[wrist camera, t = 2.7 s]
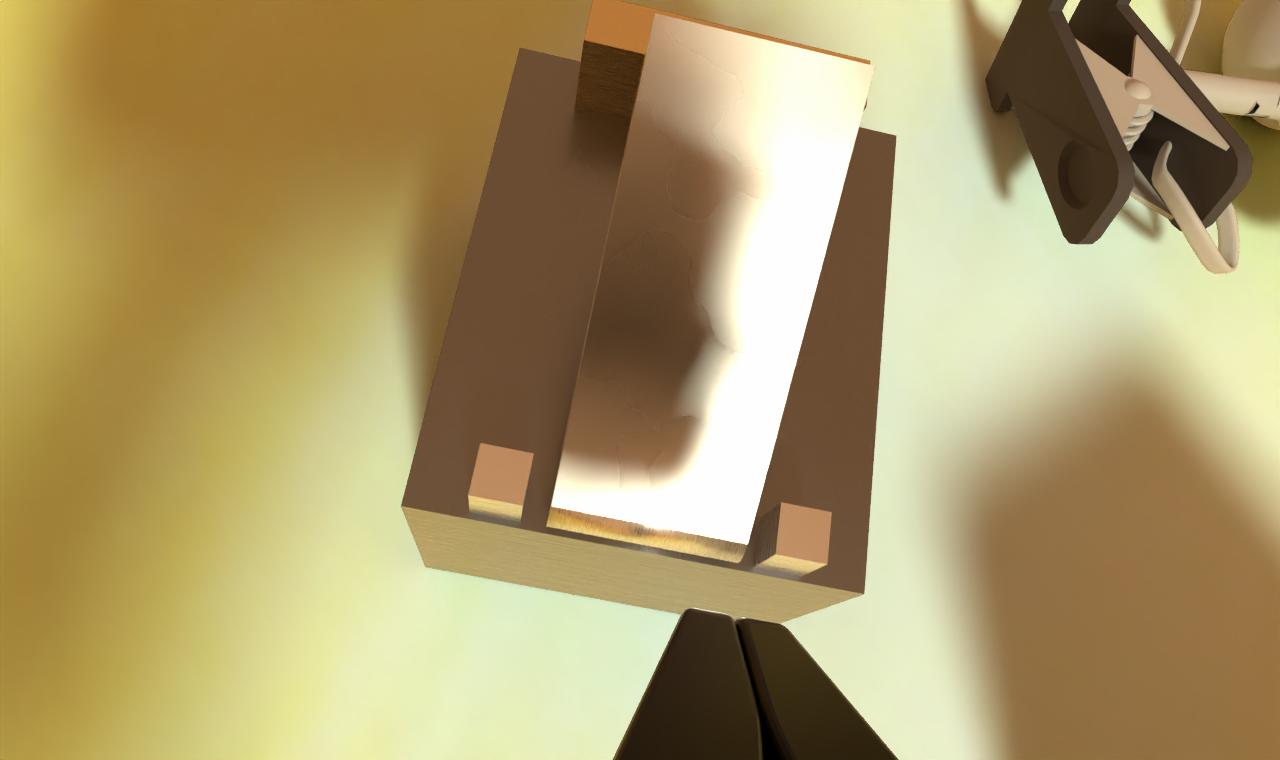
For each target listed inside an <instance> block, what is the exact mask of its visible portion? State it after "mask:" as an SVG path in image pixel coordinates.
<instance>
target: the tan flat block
mask: <svg viewBox="0 0 1280 760" xmlns="http://www.w3.org/2000/svg"><path fill="white" fill-rule="evenodd" d="M874 68H875V66H873V65H869V64H864V63H860V62H856V61H852V60H848V59H844V58H839V57H835V56H831V55H827V54H823V53H819V52H814V51H810V50H806V49H802V48H798V47H794V46H789V45H785V44H781V43H777V42H773V41H769V40H764V39H760V38H756V37H752V36H748V35H744V34H739V33H735V32H731V31H727V30H723V29H719V28H714V27H710V26H706V25H702V24H698V23H694V22H689V21H685V20H681V19H677V18H673V17H669V16H664V15H660V14H656V13H655V14H654V17H653V20H652V23H651V28H650V32H649V37H648V42H647V47H646V51H645V56H644V61H643V66H642V70H641V75H640V80H639V85H638V89H637V94H636V99H635V104H634V108H633V113H632V118H631V123H630V127H629V132H628V137H627V142H626V146H625V151H624V156H623V161H622V165H621V170H620V175H619V180H618V184H617V189H616V194H615V199H614V203H613V208H612V213H611V218H610V223H609V227H608V232H607V237H606V242H605V246H604V251H603V256H602V261H601V265H600V270H599V275H598V280H597V284H596V289H595V294H594V299H593V303H592V308H591V313H590V318H589V322H588V327H587V332H586V337H585V341H584V346H583V351H582V356H581V360H580V365H579V370H578V375H577V379H576V384H575V389H574V394H573V398H572V403H571V408H570V413H569V417H568V422H567V427H566V432H565V437H564V441H563V446H562V451H561V456H560V460H559V465H558V470H557V475H556V479H555V484H554V489H553V494H552V499H551V504H550V509H549V514H548V519H547V525H546V527H551V528H557V529H562V530H567V531H572V532H578V533H583V534H588V535H593V536H599V537H604V538H609V539H614V540H620V541H625V542H630V543H635V544H641V545H646V546H651V547H656V548H662V549H667V550H672V551H677V552H682V553H688V554H693V555H698V556H703V557H709V558H714V559H719V560H724V561H730V562H735V563H739V562H740V561H741V560H742V558H743V556H744V553H745V551H746V548H747V544H748V540H749V537H750V533H751V529H752V525H753V522H754V518H755V514H756V510H757V507H758V503H759V499H760V495H761V492H762V488H763V484H764V480H765V477H766V473H767V469H768V465H769V462H770V458H771V454H772V450H773V447H774V443H775V439H776V435H777V432H778V428H779V424H780V420H781V417H782V413H783V409H784V405H785V402H786V398H787V394H788V390H789V387H790V383H791V379H792V375H793V372H794V368H795V364H796V360H797V357H798V353H799V349H800V345H801V342H802V338H803V334H804V330H805V327H806V323H807V319H808V316H809V312H810V308H811V304H812V301H813V297H814V293H815V289H816V286H817V282H818V278H819V274H820V271H821V267H822V263H823V259H824V256H825V252H826V248H827V244H828V241H829V237H830V233H831V229H832V226H833V222H834V218H835V214H836V211H837V207H838V203H839V199H840V196H841V192H842V188H843V184H844V181H845V177H846V173H847V169H848V166H849V162H850V158H851V154H852V151H853V147H854V143H855V139H856V136H857V132H858V128H859V124H860V121H861V117H862V113H863V110H864V106H865V102H866V98H867V95H868V91H869V87H870V83H871V80H872V76H873V72H874Z"/></svg>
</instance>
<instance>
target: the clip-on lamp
mask: <svg viewBox="0 0 1280 760" xmlns="http://www.w3.org/2000/svg"><path fill="white" fill-rule="evenodd" d="M1130 1H1131V0H1080V2H1079V4H1078V6H1077V8H1076V10H1075V12H1074V14H1073V15H1072V17H1071V19H1070V21H1069V23H1067V21H1066V18H1065V16H1064V14H1063V12H1062V10H1063V8H1064V6H1065V4H1066V2H1067V0H1022V2H1021V5H1020V7H1019V9H1018V11H1017V13H1016V15H1015V17H1014V19H1013V22H1012V24H1011V26H1010V28H1009V30H1008V32H1007V34H1006V36H1005V39H1004V41H1003V43H1002V45H1001V47H1000V49H999V51H998V53H997V56H996V58H995V60H994V62H993V64H992V66H991V68H990V70H989V72H988V75H987V77H986V84H987V89H988V93H989V97H990V102H991V106H992V108H993V110H1010V109H1011V108H1012V107H1013V108H1014V110H1015V113H1016V115H1017V118H1018V121H1019V123H1020V126H1021V128H1022V131H1023V133H1024V136H1025V138H1026V141H1027V144H1028V146H1029V149H1030V151H1031V154H1032V156H1033V159H1034V162H1035V164H1036V167H1037V169H1038V172H1039V174H1040V177H1041V179H1042V182H1043V185H1044V187H1045V190H1046V192H1047V195H1048V197H1049V200H1050V202H1051V205H1052V208H1053V210H1054V213H1055V215H1056V218H1057V220H1058V223H1059V226H1060V228H1061V231H1062V233H1063V236H1064V237H1065V238H1066V240H1067V241H1068V242H1069V243H1071V244H1093V243H1094V242H1095V241H1097V240H1098V239H1099V238H1100V237H1101V236H1102V234H1103V233H1104V232H1105V230H1106V229H1107V227H1108V226H1109V225H1110V223H1111V222H1112V221H1113V219H1114V218H1115V216H1116V215H1117V214H1118V212H1119V211H1120V209H1121V208H1122V207H1123V205H1124V204H1125V202H1126V201H1127V200H1128V198H1129V196H1131V197H1133V198H1134V199H1136V200H1138V201H1139V202H1141V203H1143V204H1144V205H1146V206H1148V207H1149V208H1151V209H1153V210H1154V211H1156V212H1158V213H1159V214H1161V215H1163V216H1164V217H1166V218H1168V219H1169V221H1170V222H1171V224H1172V225H1174V226H1175V227H1176V228H1177V229H1178V230H1179V231H1182V232H1183V234H1184V235H1185V237H1186V239H1187V240H1188V242H1189V244H1190V246H1191V247H1192V249H1193V251H1194V252H1195V254H1196V255H1197V257H1198V258H1199V260H1200V261H1201V263H1202V264H1203V265H1204V267H1205V268H1206V269H1207V270H1208V271H1210V272H1212V273H1214V274H1224V273H1230V272H1232V271H1235V270H1236V268H1237V265H1238V259H1239V230H1238V222H1237V217H1236V213H1235V208H1234V206H1233V204H1232V201H1233V200H1234V198H1235V197H1236V196H1237V195H1238V194H1239V193H1240V191H1241V190H1242V189H1243V188H1244V187H1245V185H1246V183H1247V182H1248V180H1249V178H1250V176H1251V174H1252V161H1253V158H1252V156H1251V153H1250V151H1249V148H1248V146H1247V145H1246V144H1245V143H1244V141H1243V140H1242V139H1241V138H1240V137H1239V135H1238V134H1237V133H1236V132H1235V131H1234V129H1233V128H1232V127H1231V126H1230V125H1229V124H1228V122H1227V121H1226V120H1225V119H1224V118H1223V116H1222V115H1221V114H1220V113H1228V114H1235V115H1242V116H1249V117H1252V118H1253V119H1255V120H1256V121H1257V122H1259V123H1260V124H1262V125H1264V126H1266V127H1269V128H1272V129H1276V130H1279V131H1280V0H1243V1H1242V2H1241V3H1240V4H1239V6H1238V7H1237V9H1236V11H1235V13H1234V15H1233V17H1232V19H1231V21H1230V23H1229V25H1228V27H1227V29H1226V32H1225V35H1224V42H1223V52H1222V66H1221V67H1222V72H1223V75H1221V74H1214V73H1207V72H1199V71H1192V70H1185V69H1182V68H1181V67H1180V64H1181V61H1182V58H1183V56H1184V53H1185V51H1186V48H1187V45H1188V43H1189V40H1190V37H1191V35H1192V32H1193V29H1194V26H1195V24H1196V21H1197V18H1198V15H1199V11H1200V7H1201V2H1202V0H1185V5H1186V6H1185V10H1184V14H1183V18H1182V22H1181V25H1180V28H1179V30H1178V33H1177V36H1176V38H1175V41H1174V43H1173V46H1172V49H1171V51H1170V54H1169V52H1168V51H1167V50H1166V49H1165V48H1164V46H1163V45H1162V44H1161V43H1160V42H1159V40H1158V39H1157V38H1156V37H1155V36H1154V35H1153V33H1152V32H1151V31H1150V30H1149V29H1148V27H1147V26H1146V25H1145V24H1144V23H1143V22H1142V20H1141V19H1140V18H1139V17H1138V16H1137V14H1136V13H1135V12H1134V11H1133V10H1132V8H1131V7H1130V6H1129V3H1130ZM1219 112H1220V113H1219ZM1215 221H1216V225H1217V229H1218V243H1219V245H1218V249H1217V247H1216V246H1215V244H1214V242H1213V241H1212V239H1211V237H1210V236H1209V234H1208V232H1207V230H1206V228H1207V227H1209V226H1210V225H1212V224H1213V223H1214V222H1215Z"/></svg>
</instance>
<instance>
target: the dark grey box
mask: <svg viewBox="0 0 1280 760" xmlns="http://www.w3.org/2000/svg"><path fill="white" fill-rule="evenodd" d="M655 13H656V14H660V15H664V16H669V17H673V18H677V19H681V20H685V21H689V22H694V23H698V24H702V25H706V26H710V27H714V28H719V29H723V30H727V31H731V32H735V33H739V34H744V35H748V36H752V37H756V38H760V39H764V40H769V41H773V42H777V43H781V44H785V45H789V46H794V47H798V48H802V49H806V50H810V51H814V52H819V53H823V54H827V55H831V56H835V57H839V58H844V59H848V60H852V61H856V62H860V63H864V64H869V65H870V61H869V60H864V59H860V58H856V57H852V56H848V55H844V54H839V53H835V52H831V51H827V50H823V49H819V48H815V47H810V46H806V45H802V44H798V43H794V42H790V41H785V40H781V39H777V38H773V37H769V36H765V35H760V34H756V33H752V32H748V31H744V30H740V29H735V28H731V27H727V26H723V25H719V24H715V23H711V22H706V21H702V20H698V19H694V18H690V17H686V16H681V15H677V14H673V13H669V12H665V11H661V10H656V9H652V8H648V7H644V6H640V5H636V4H631V3H627V2H623V1H619V0H593V3H592V7H591V12H590V16H589V20H588V25H587V29H586V34H585V38H584V44H583V51H582V58H581V62H578V61H574V60H570V59H566V58H561V57H557V56H553V55H549V54H544V53H540V52H536V51H531V50H527V49H523V48H520V49H519V53H518V57H517V61H516V65H515V69H514V73H513V76H512V80H511V84H510V88H509V92H508V96H507V100H506V103H505V107H504V111H503V115H502V119H501V123H500V127H499V130H498V134H497V138H496V142H495V146H494V150H493V154H492V157H491V161H490V165H489V169H488V173H487V177H486V181H485V184H484V188H483V192H482V196H481V200H480V204H479V208H478V211H477V215H476V219H475V223H474V227H473V231H472V235H471V238H470V242H469V246H468V250H467V254H466V258H465V262H464V265H463V269H462V273H461V277H460V281H459V285H458V289H457V292H456V296H455V300H454V304H453V308H452V312H451V316H450V319H449V323H448V327H447V331H446V335H445V339H444V343H443V346H442V350H441V354H440V358H439V362H438V366H437V370H436V373H435V377H434V381H433V385H432V389H431V393H430V397H429V400H428V404H427V408H426V412H425V416H424V420H423V424H422V427H421V431H420V435H419V439H418V443H417V447H416V451H415V454H414V458H413V462H412V466H411V470H410V474H409V478H408V481H407V485H406V489H405V493H404V497H403V501H402V505H401V507H402V510H403V512H404V515H405V517H406V520H407V522H408V525H409V527H410V530H411V532H412V535H413V537H414V540H415V542H416V545H417V547H418V550H419V552H420V555H421V557H422V560H423V562H424V565H425V567H429V568H434V569H439V570H445V571H450V572H456V573H461V574H466V575H472V576H477V577H483V578H488V579H494V580H499V581H504V582H510V583H515V584H521V585H526V586H531V587H537V588H542V589H548V590H553V591H558V592H564V593H569V594H575V595H580V596H585V597H591V598H596V599H602V600H607V601H612V602H618V603H623V604H629V605H634V606H640V607H645V608H650V609H656V610H661V611H667V612H672V613H677V614H682V613H683V611H684V610H685V609H687V608H697V609H702V610H708V611H713V612H718V613H724V614H727V615H729V616H731V617H732V618H733V619H734V621H735V620H736V619H738V618H740V617H745V618H751V619H756V620H762V621H767V622H773V623H778V624H780V623H783V622H786V621H788V620H791V619H794V618H797V617H800V616H803V615H806V614H809V613H811V612H814V611H817V610H820V609H823V608H826V607H829V606H832V605H835V604H837V603H840V602H843V601H846V600H849V599H852V598H855V597H858V596H860V595H863V594H864V590H865V576H866V561H867V547H868V533H869V519H870V504H871V490H872V476H873V461H874V447H875V433H876V419H877V404H878V390H879V376H880V361H881V347H882V333H883V319H884V304H885V290H886V276H887V262H888V247H889V233H890V219H891V204H892V190H893V176H894V162H895V147H896V136H895V135H891V134H886V133H882V132H878V131H873V130H869V129H865V128H861V127H859V128H858V132H857V136H856V139H855V143H854V147H853V151H852V154H851V158H850V162H849V166H848V169H847V173H846V177H845V181H844V184H843V188H842V192H841V196H840V199H839V203H838V207H837V211H836V214H835V218H834V222H833V226H832V229H831V233H830V237H829V241H828V244H827V248H826V252H825V256H824V259H823V263H822V267H821V271H820V274H819V278H818V282H817V286H816V289H815V293H814V297H813V301H812V304H811V308H810V312H809V316H808V319H807V323H806V327H805V330H804V334H803V338H802V342H801V345H800V349H799V353H798V357H797V360H796V364H795V368H794V372H793V375H792V379H791V383H790V387H789V390H788V394H787V398H786V402H785V405H784V409H783V413H782V417H781V420H780V424H779V428H778V432H777V435H776V439H775V443H774V447H773V450H772V454H771V458H770V462H769V465H768V469H767V473H766V477H765V480H764V484H763V488H762V492H761V495H760V499H759V503H758V507H757V510H756V514H755V518H754V522H753V525H752V529H751V533H750V537H749V540H748V544H747V548H746V551H745V553H744V556H743V558H742V560H741V561H740V562H739V563H735V562H730V561H724V560H719V559H714V558H709V557H703V556H698V555H693V554H688V553H682V552H677V551H672V550H667V549H662V548H656V547H651V546H646V545H641V544H635V543H630V542H625V541H620V540H614V539H609V538H604V537H599V536H593V535H588V534H583V533H578V532H572V531H567V530H562V529H557V528H551V527H546V525H547V519H548V514H549V509H550V504H551V499H552V494H553V489H554V484H555V479H556V475H557V470H558V465H559V460H560V456H561V451H562V446H563V441H564V437H565V432H566V427H567V422H568V417H569V413H570V408H571V403H572V398H573V394H574V389H575V384H576V379H577V375H578V370H579V365H580V360H581V356H582V351H583V346H584V341H585V337H586V332H587V327H588V322H589V318H590V313H591V308H592V303H593V299H594V294H595V289H596V284H597V280H598V275H599V270H600V265H601V261H602V256H603V251H604V246H605V242H606V237H607V232H608V227H609V223H610V218H611V213H612V208H613V203H614V199H615V194H616V189H617V184H618V180H619V175H620V170H621V165H622V161H623V156H624V151H625V146H626V142H627V137H628V132H629V127H630V123H631V118H632V113H633V108H634V104H635V99H636V94H637V89H638V85H639V80H640V75H641V70H642V66H643V61H644V56H645V51H646V47H647V42H648V37H649V32H650V28H651V23H652V20H653V17H654V14H655ZM866 105H867V98H866V102H865V106H864V110H865V108H866ZM864 110H863V111H864Z"/></svg>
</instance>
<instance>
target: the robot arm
mask: <svg viewBox="0 0 1280 760" xmlns="http://www.w3.org/2000/svg"><path fill="white" fill-rule="evenodd" d="M613 760H898V759H897V757H896V756H895V755H894V754H893V753H892V751H891V750H890V749H889V748H888V747H887V745H886V744H885V743H884V742H883V741H882V740H881V738H880V737H879V736H878V735H877V734H876V732H875V731H874V730H873V729H872V728H871V727H870V725H869V724H868V723H867V722H866V721H865V719H864V718H863V717H862V716H861V715H860V714H859V712H858V711H857V710H856V709H855V708H854V706H853V705H852V704H851V703H850V702H849V701H848V699H847V698H846V697H845V696H844V695H843V693H842V692H841V691H840V690H839V689H838V688H837V686H836V685H835V684H834V683H833V682H832V680H831V679H830V678H829V677H828V676H827V674H826V673H825V672H824V671H823V670H822V669H821V667H820V666H819V665H818V664H817V663H816V661H815V660H814V659H813V658H812V657H811V656H810V654H809V653H808V652H807V651H806V650H805V648H804V647H803V646H802V645H801V644H800V643H799V641H798V640H797V639H796V638H795V637H794V635H793V634H792V633H791V632H790V631H789V630H788V629H787V628H786V627H785V626H783V625H781V624H778V623H773V622H767V621H762V620H756V619H751V618H745V617H740V618H738V619H736V620H735V621H734V619H733V618H732V617H731V616H729V615H727V614H724V613H718V612H713V611H708V610H702V609H697V608H687V609H685V610H684V611H683V613H682V615H681V617H680V619H679V621H678V623H677V625H676V627H675V629H674V631H673V633H672V635H671V638H670V640H669V642H668V644H667V646H666V648H665V650H664V652H663V654H662V657H661V659H660V661H659V663H658V665H657V667H656V669H655V671H654V673H653V676H652V678H651V680H650V682H649V684H648V686H647V688H646V690H645V692H644V695H643V697H642V699H641V701H640V703H639V705H638V707H637V709H636V711H635V714H634V716H633V718H632V720H631V722H630V724H629V726H628V728H627V730H626V733H625V735H624V737H623V739H622V741H621V743H620V745H619V747H618V749H617V752H616V754H615V756H614V758H613Z"/></svg>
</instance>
